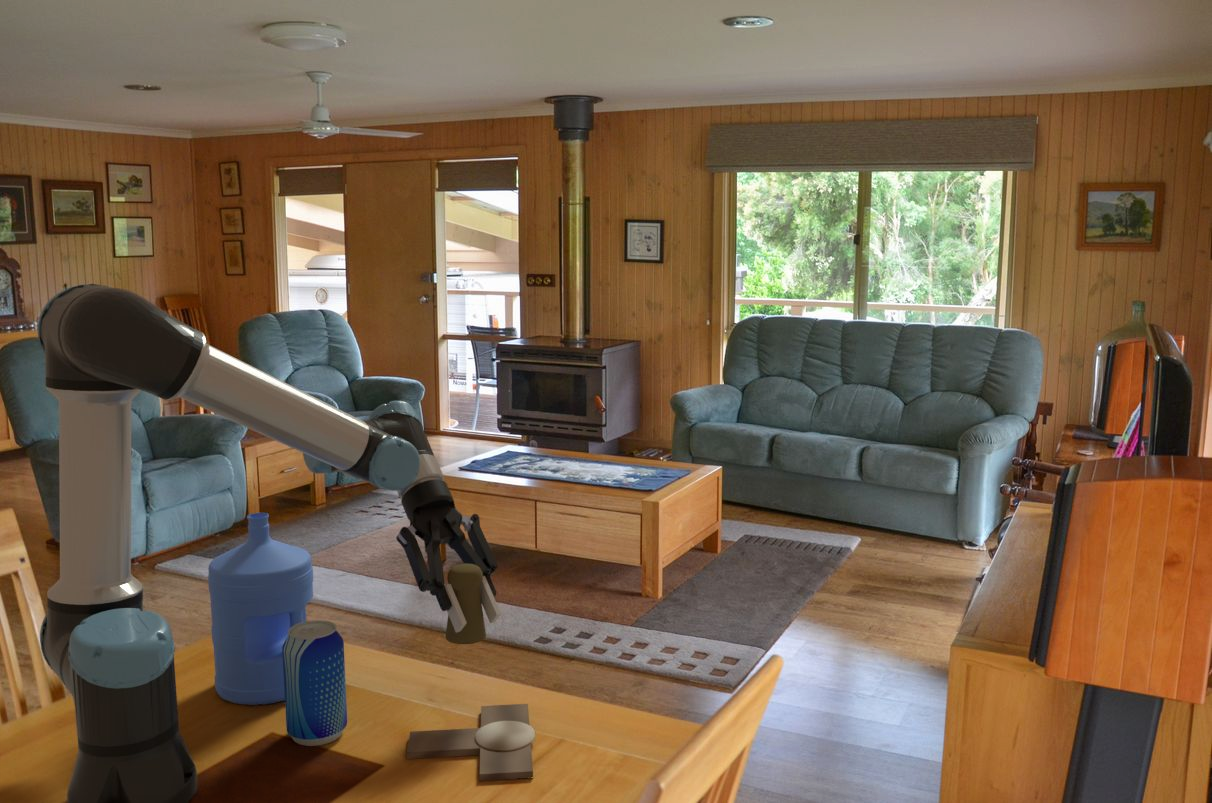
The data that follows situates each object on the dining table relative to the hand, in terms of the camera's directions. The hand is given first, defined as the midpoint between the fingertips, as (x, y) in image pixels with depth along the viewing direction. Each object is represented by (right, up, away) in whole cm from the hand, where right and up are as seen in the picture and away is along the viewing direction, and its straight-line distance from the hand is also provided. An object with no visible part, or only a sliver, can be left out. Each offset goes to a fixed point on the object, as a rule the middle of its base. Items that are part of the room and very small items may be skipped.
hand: (478, 622), depth 153 cm
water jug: (-35, -13, +14) cm, 40 cm away
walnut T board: (0, -16, -6) cm, 17 cm away
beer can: (-23, -16, -2) cm, 28 cm away
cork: (-2, -3, +4) cm, 5 cm away
